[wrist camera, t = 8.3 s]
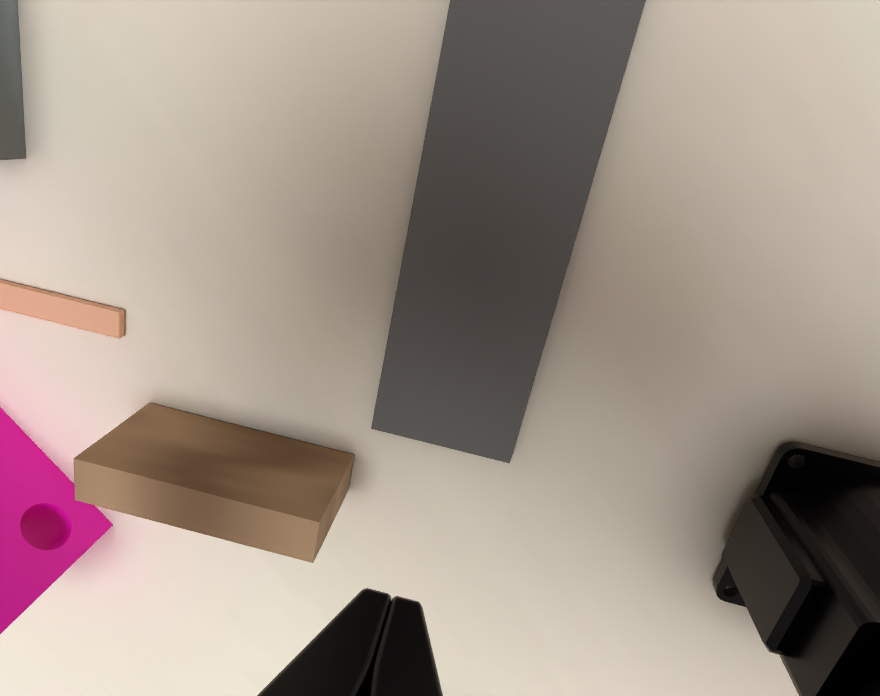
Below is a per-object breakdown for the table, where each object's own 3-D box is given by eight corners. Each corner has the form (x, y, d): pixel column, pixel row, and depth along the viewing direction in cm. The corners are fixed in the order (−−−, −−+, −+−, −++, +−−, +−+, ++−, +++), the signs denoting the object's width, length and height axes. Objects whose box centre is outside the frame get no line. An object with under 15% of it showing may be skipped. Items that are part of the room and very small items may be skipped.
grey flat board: (692, -168, 14) (696, -175, 14) (509, 457, 21) (509, 463, 20) (490, -206, 14) (490, -215, 14) (374, 423, 21) (371, 428, 21)
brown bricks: (501, -382, 13) (492, -580, 10) (348, 490, 22) (313, 563, 19) (167, -442, 14) (34, -654, 10) (148, 438, 23) (75, 500, 19)
